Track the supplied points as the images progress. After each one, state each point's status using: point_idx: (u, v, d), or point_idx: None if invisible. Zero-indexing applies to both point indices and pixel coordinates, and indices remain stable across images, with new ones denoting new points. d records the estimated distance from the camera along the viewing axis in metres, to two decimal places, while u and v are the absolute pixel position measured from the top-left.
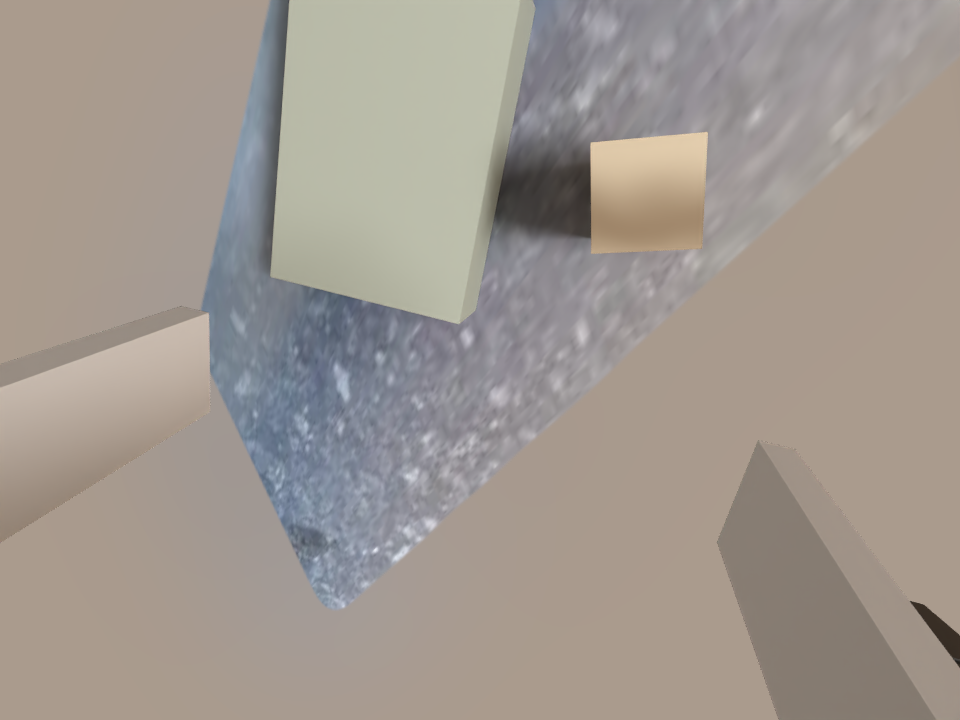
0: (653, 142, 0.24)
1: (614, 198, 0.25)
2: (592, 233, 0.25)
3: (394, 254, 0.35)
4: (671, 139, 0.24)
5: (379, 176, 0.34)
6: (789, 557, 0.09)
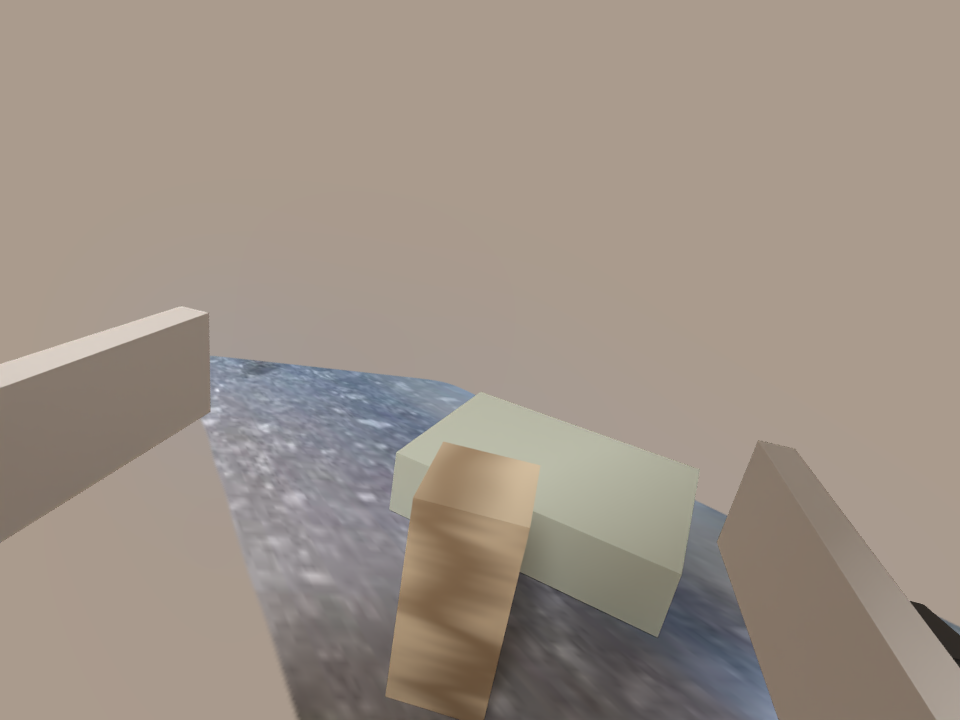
0: (530, 495, 0.24)
1: (487, 463, 0.26)
2: (461, 446, 0.27)
3: (472, 441, 0.41)
4: (529, 505, 0.23)
5: (534, 453, 0.41)
6: (790, 558, 0.09)
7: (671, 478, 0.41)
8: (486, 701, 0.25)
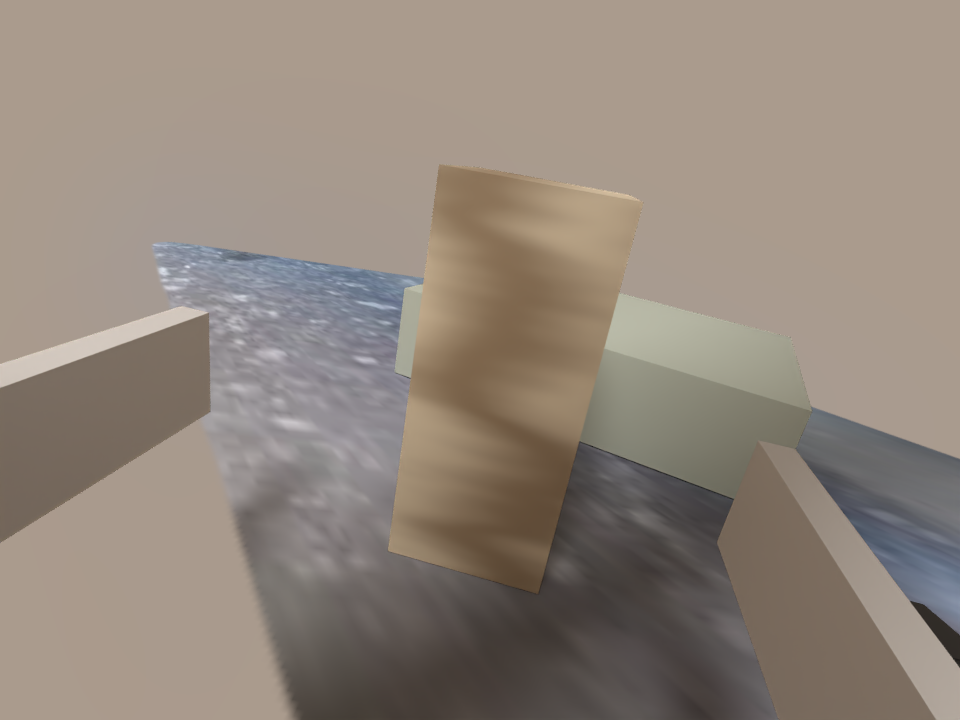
0: (627, 196, 0.15)
1: (550, 181, 0.16)
2: (506, 172, 0.18)
3: None
4: (631, 197, 0.14)
5: None
6: (789, 558, 0.09)
7: (759, 340, 0.32)
8: (547, 549, 0.16)
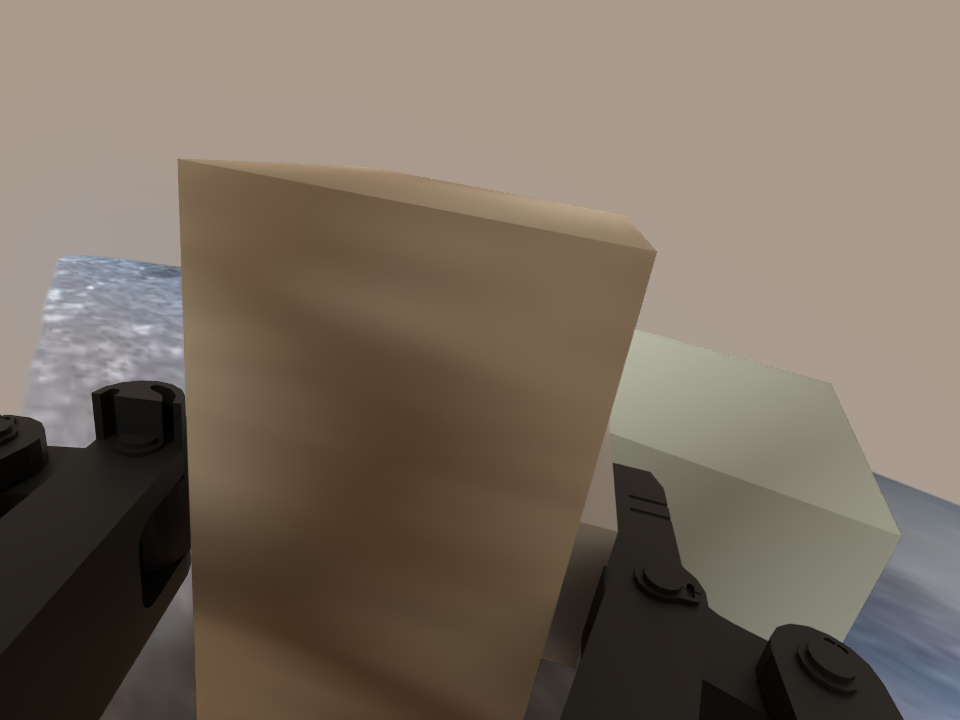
0: (619, 225, 0.07)
1: (479, 191, 0.09)
2: (410, 175, 0.10)
3: None
4: (627, 231, 0.06)
5: None
6: None
7: (794, 391, 0.24)
8: None
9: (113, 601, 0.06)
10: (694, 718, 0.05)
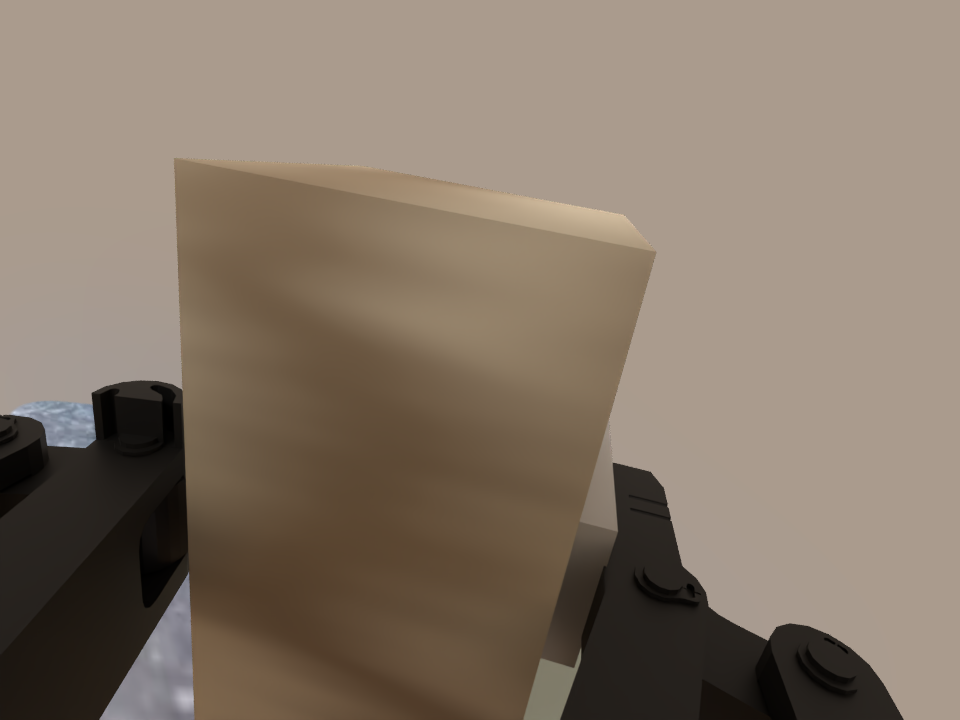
0: (619, 225, 0.07)
1: (478, 191, 0.09)
2: (408, 175, 0.10)
3: None
4: (627, 231, 0.06)
5: None
6: None
7: None
8: None
9: (113, 601, 0.06)
10: (694, 718, 0.05)
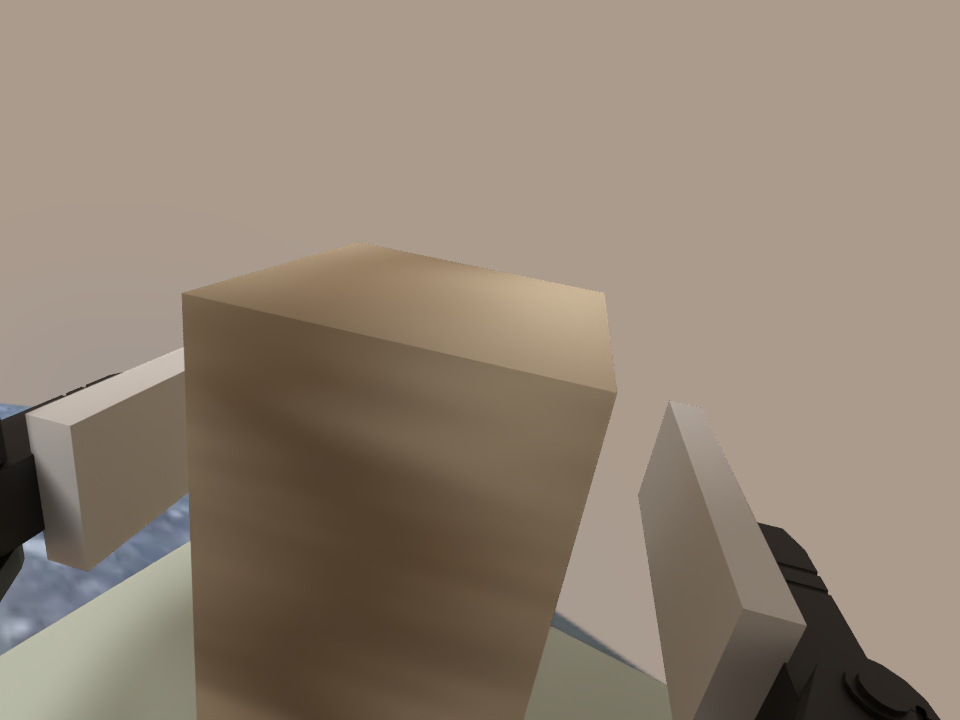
0: (593, 328, 0.08)
1: (465, 276, 0.09)
2: (401, 252, 0.11)
3: (114, 707, 0.13)
4: (598, 345, 0.07)
5: None
6: (677, 494, 0.10)
7: None
8: None
9: None
10: None
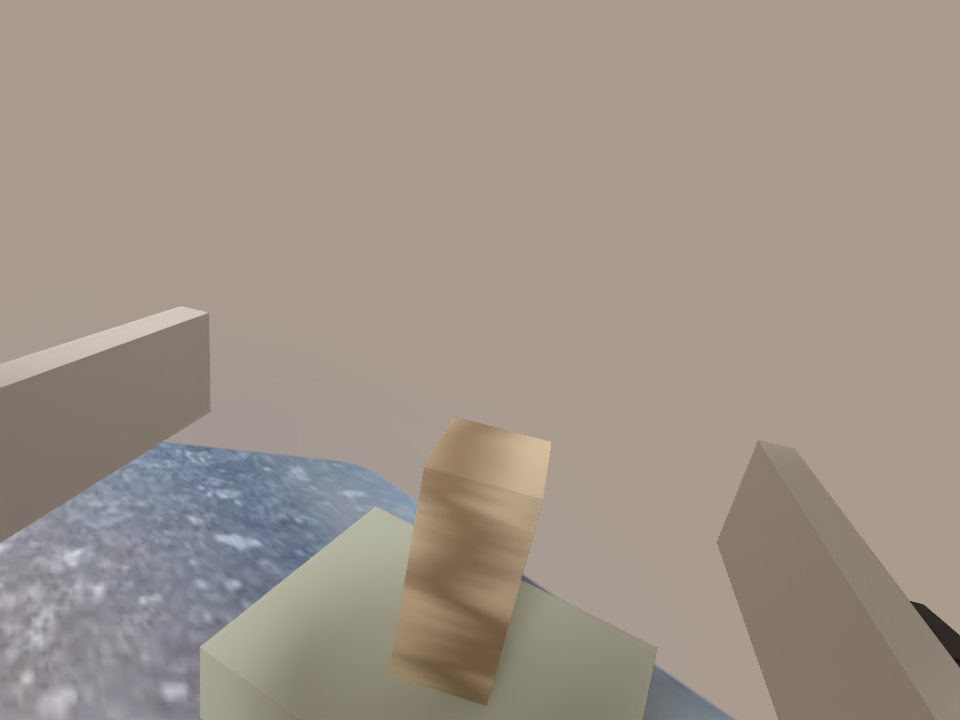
0: (542, 469, 0.23)
1: (498, 438, 0.25)
2: (471, 421, 0.26)
3: (330, 611, 0.29)
4: (541, 478, 0.23)
5: None
6: (789, 558, 0.09)
7: (613, 672, 0.29)
8: (491, 679, 0.25)
9: None
10: None
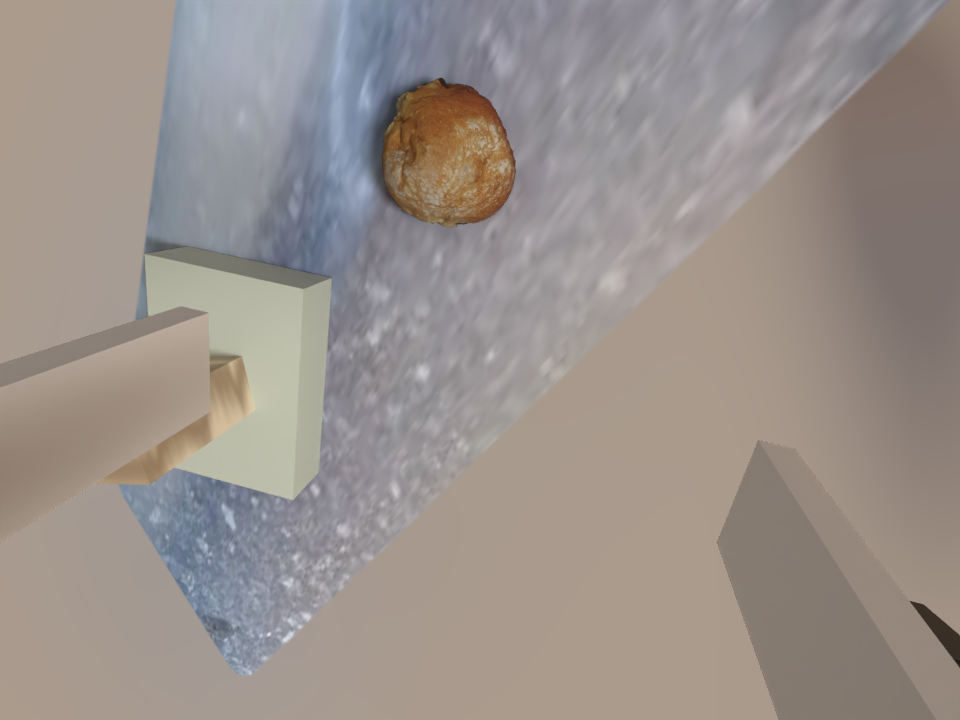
0: None
1: None
2: None
3: (241, 453, 0.48)
4: None
5: None
6: (790, 558, 0.09)
7: (180, 284, 0.44)
8: (229, 363, 0.43)
9: None
10: None
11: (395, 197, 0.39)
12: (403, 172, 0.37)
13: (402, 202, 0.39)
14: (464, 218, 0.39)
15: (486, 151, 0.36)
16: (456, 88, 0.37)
